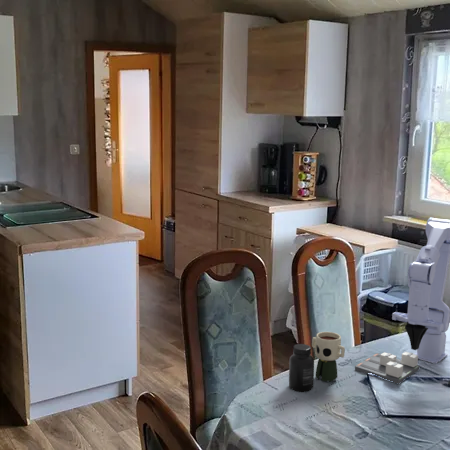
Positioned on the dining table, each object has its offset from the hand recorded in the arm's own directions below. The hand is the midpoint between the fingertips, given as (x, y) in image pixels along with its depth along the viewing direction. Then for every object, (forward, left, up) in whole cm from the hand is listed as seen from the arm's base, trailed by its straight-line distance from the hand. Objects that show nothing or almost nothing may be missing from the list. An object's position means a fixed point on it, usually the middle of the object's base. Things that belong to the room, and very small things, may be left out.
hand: (414, 348), depth 178 cm
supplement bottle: (+28, -20, -9) cm, 36 cm away
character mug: (+18, -18, -9) cm, 27 cm away
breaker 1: (+5, -3, -7) cm, 10 cm away
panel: (0, -8, -9) cm, 12 cm away
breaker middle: (0, -8, -7) cm, 11 cm away
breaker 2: (-5, -4, -7) cm, 10 cm away
